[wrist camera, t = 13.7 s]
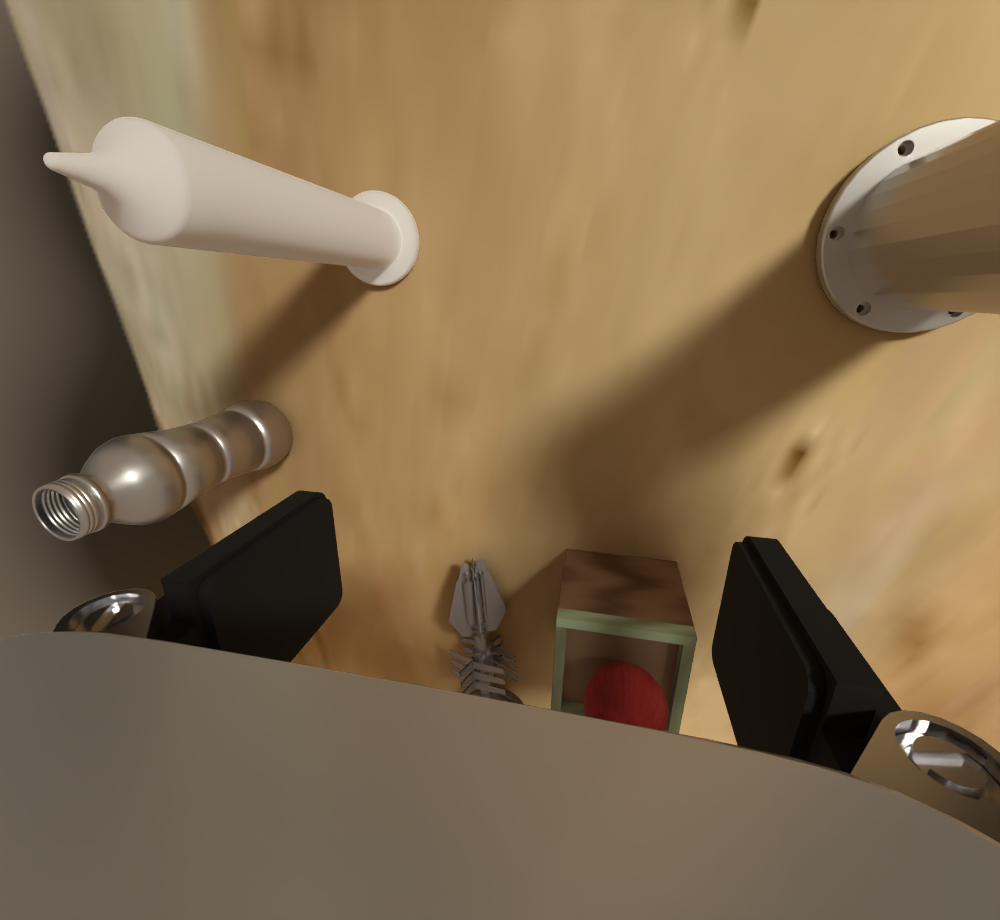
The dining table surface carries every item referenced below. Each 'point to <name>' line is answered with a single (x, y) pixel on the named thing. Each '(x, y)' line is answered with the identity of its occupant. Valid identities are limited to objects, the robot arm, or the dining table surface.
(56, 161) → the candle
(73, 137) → the dining table surface
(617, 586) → the green shadow box
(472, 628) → the spaceship
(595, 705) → the onion
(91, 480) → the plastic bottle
